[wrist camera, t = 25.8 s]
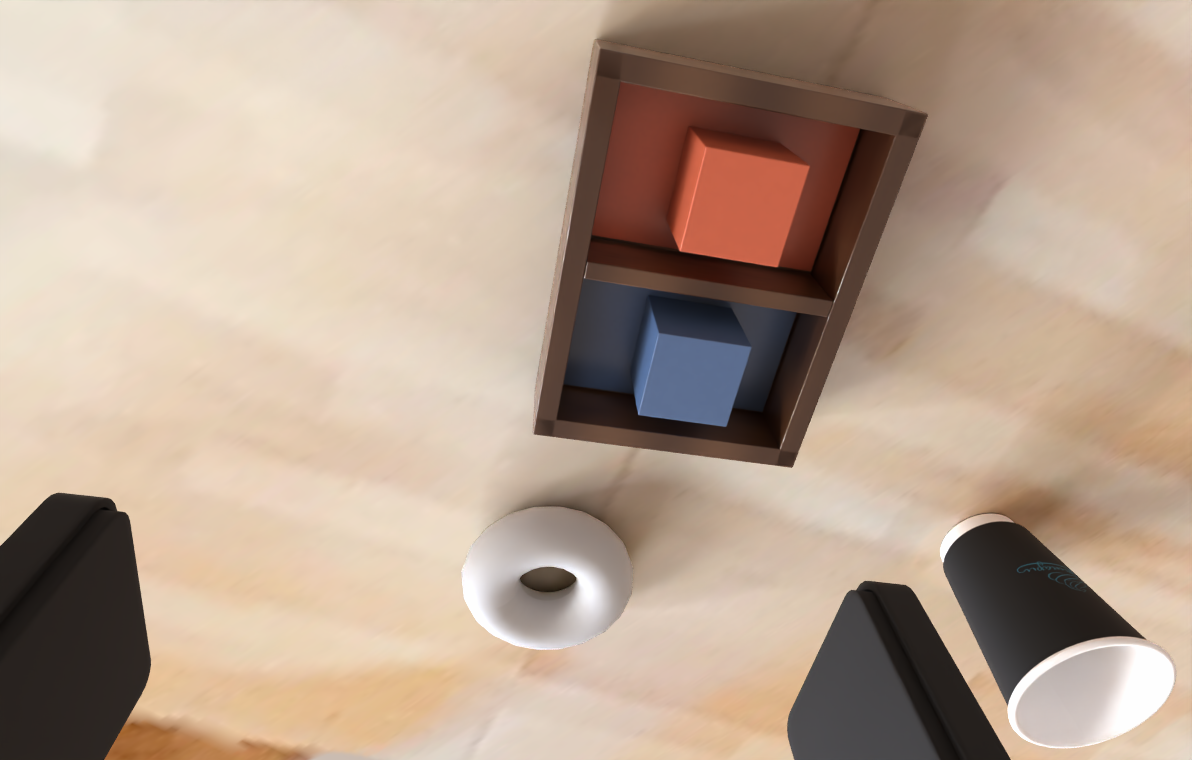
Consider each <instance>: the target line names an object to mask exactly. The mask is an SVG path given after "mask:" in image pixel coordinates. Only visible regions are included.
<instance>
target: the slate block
mask: <svg viewBox="0 0 1192 760" xmlns="http://www.w3.org/2000/svg"><path fill="white" fill-rule="evenodd" d="M751 349H752V346H751V344H750V342H749V340H748V338H747V336H746V334H745V332H744V331H743V329H742V327H741V325H740V323H739V321H738V319H737V317H736V315H735V313H734V311H733V310H732V308H727V307H720V306H714V305H707V304H701V303H695V302H688V301H682V300H676V299H669V298H663V297H657V296H650V295H648V297H647V301H646V306H645V310H644V314H643V318H642V322H641V327H640V331H639V335H638V339H637V344H636V348H635V352H634V356H633V360H632V365H631V369H630V373H631V379H632V384H633V389H634V395H635V400H636V405H637V411H638V415H643V416H650V417H658V418H665V419H672V420H680V421H687V422H695V423H702V424H709V425H717V426H724V427H726V426H727V423H728V420H729V417H730V414H731V411H732V408H733V405H734V401H735V398H736V395H737V392H738V389H739V386H740V383H741V380H742V377H743V374H744V370H745V367H746V364H747V361H748V358H749V355H750V352H751Z"/></svg>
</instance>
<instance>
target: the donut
mask: <svg viewBox="0 0 1192 760" xmlns="http://www.w3.org/2000/svg"><path fill="white" fill-rule="evenodd" d="M540 567H557V568H562V569H565V570H567V571H569V572H571V573H573V574H574V575H575V576H576V581H575V582H574V583H573V584H572V585H571V586H569V587H567V588H565V589H563V590H560V591H556V592H540V591H535V590H532V589H530V588H528V587H526V586H525V585H524V584H523V583H522V582H521V581H520V577H521V576H522V575H523V574H525V573H527V572H528V571H530V570H532V569H536V568H540ZM632 583H633V566H632V563H631V560H630V558H629V555H628V552H627V550H626V547H625V545H624V543H623V541H622V540H621V539H620V538H619V537H618V536H617V535H616V534H615V533H614V532H613V531H612V530H611V528H610V527H609V526H608V525H606V524H605V523H603V522H602V521H600V520H598V519H596V518H594V517H593V516H591V515H589V514H587V513H585V512H582V511H578V510H574V509H569V508H565V507H561V506H551V507H531V508H528V509H524V510H521V511H517V512H514V513H510V514H508V515H506V516H505V517H503V518H501V519H500V520H498V521H496V522H495V523H493V524H491V525H490V526H488V527H487V528H486V529H485V530H484V531H483V532H482V533H481V535H480V536H479V537H478V538H477V539H476V541H475V542H474V543H473V544H472V545H471V546H470V549H469V552H468V554H467V557H466V560H465V563H464V566H463V569H462V584H463V594H464V599H465V601H466V603H467V605H468V607H469V608H470V610H471V612H472V614H473V615H474V617H475V619H476V621H477V622H478V623H479V624H481V625H482V626H483V627H484V628H485V629H486V630H488V631H489V632H490V633H491V634H492V635H494V636H496V637H498V638H500V639H503V640H505V641H507V642H509V643H511V644H513V645H516V646H520V647H526V648H531V649H536V650H549V649H563V648H567V647H571V646H575V645H579V644H583V643H585V642H587V641H588V640H590V639H592V638H594V637H596V636H598V635H600V634H601V633H603V632H605V631H606V630H607V629H608V628H609V627H610V626H611V625H612V624H613V623H614V622H615V621H616V620H617V619H618V618H619V617H620V616H621V614H622V613H623V611H624V609H625V607H626V605H627V603H628V601H629V599H630V596H631V594H632Z"/></svg>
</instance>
